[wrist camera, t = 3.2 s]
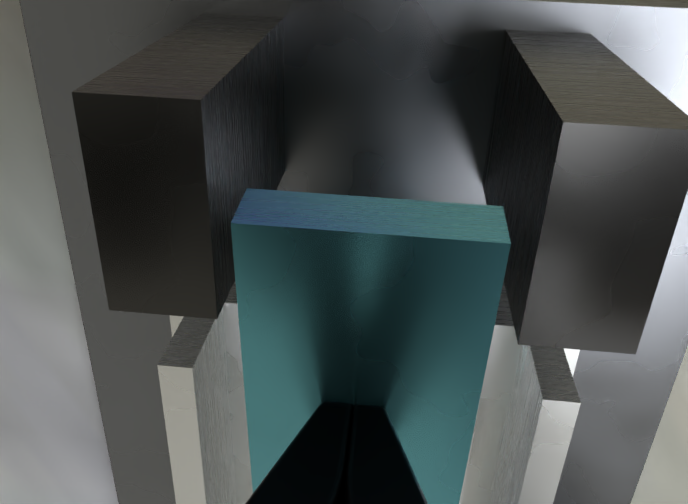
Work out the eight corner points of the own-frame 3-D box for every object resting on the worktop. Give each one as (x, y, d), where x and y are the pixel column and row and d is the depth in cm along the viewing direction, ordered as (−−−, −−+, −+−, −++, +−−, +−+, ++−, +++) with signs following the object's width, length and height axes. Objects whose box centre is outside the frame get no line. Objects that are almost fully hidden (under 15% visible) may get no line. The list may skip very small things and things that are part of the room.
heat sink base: (572, 588, 21) (632, 859, 15) (151, 543, 22) (55, 782, 16) (766, 1, 12) (1086, 104, 6) (53, -34, 13) (-235, 30, 7)
